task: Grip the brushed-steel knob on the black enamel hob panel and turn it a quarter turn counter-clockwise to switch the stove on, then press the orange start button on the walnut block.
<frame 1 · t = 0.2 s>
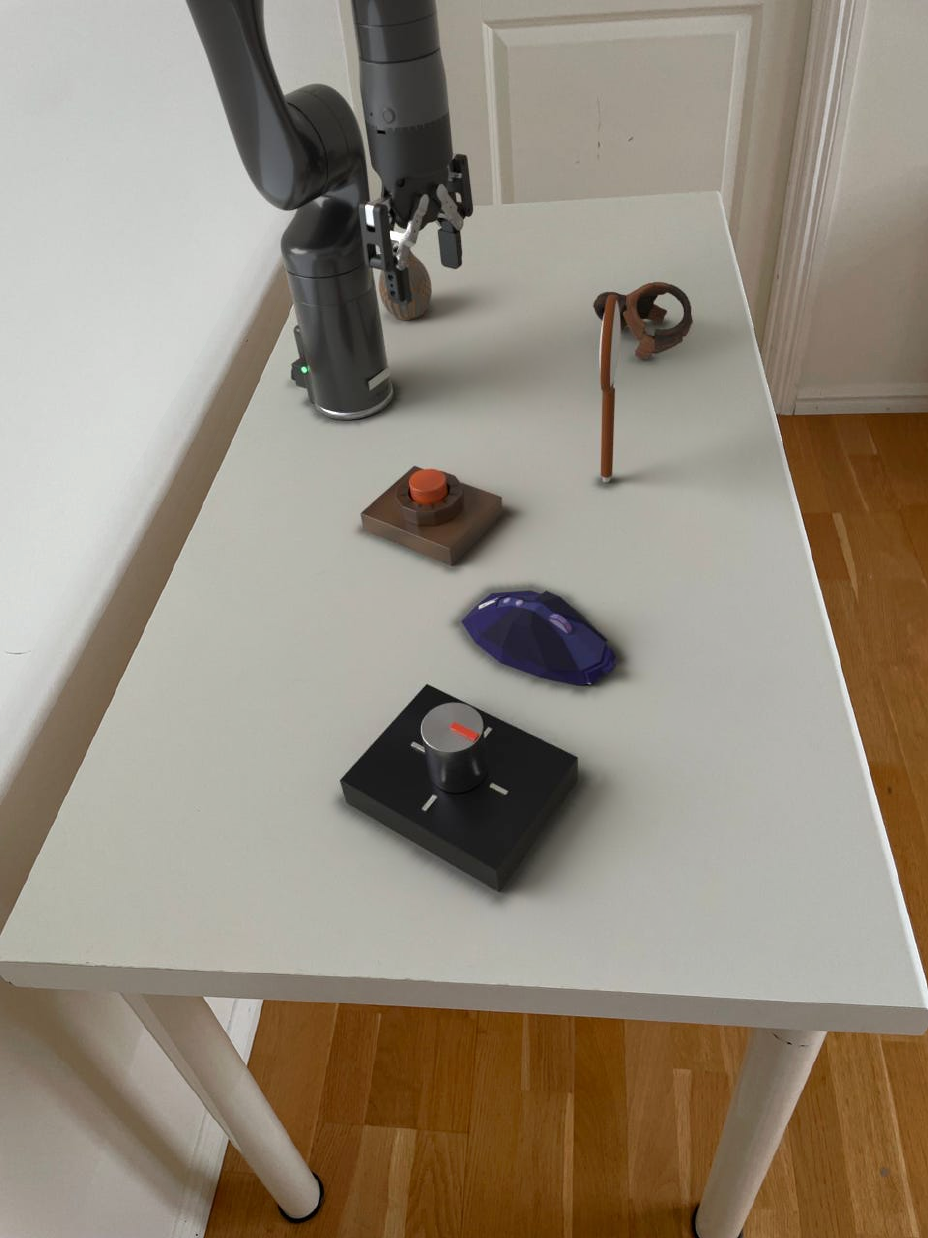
hand: (427, 284, 94), 17 cm above the table, tool pointing down, fingers open, 8 cm apart
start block: (433, 522, 95), on the table
hob panel: (461, 791, 72), on the table
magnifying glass: (606, 483, 97), on the table
vase: (408, 314, 126), on the table
brown ring sculpture: (641, 342, 116), on the table
hob knob: (455, 746, 68), point 6 cm above the table, hinge at 0.0°
start button: (428, 486, 92), point 4 cm above the table, slide at 0.1 cm
computer mouse: (544, 638, 82), on the table
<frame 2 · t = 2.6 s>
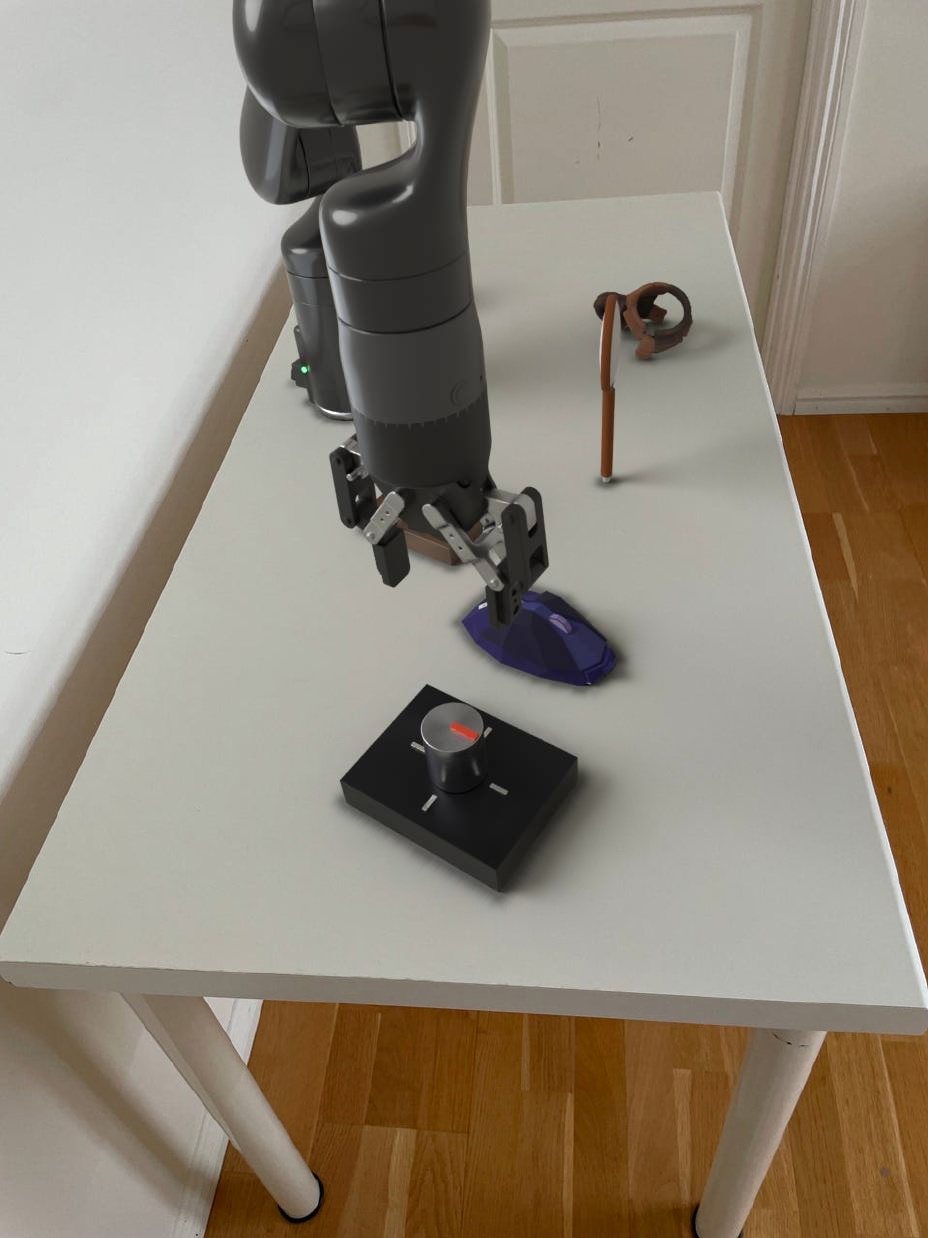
hand: (448, 599, 62), 17 cm above the table, tool pointing down, fingers open, 8 cm apart
nothing on the table moved.
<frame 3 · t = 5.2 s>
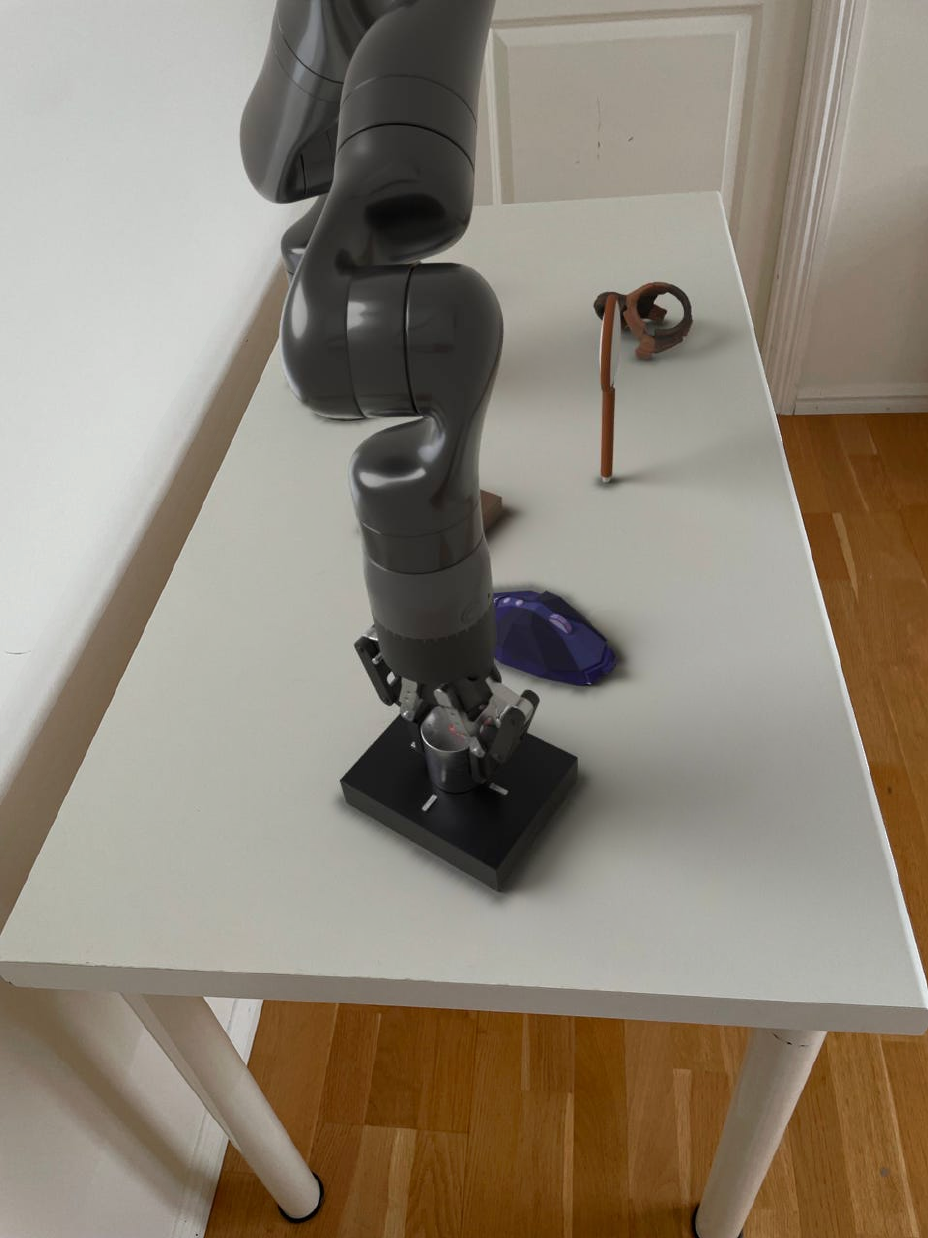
hand: (456, 758, 69), 4 cm above the table, tool pointing down, fingers closed on hob knob, 4 cm apart
hob knob: (455, 746, 68), point 6 cm above the table, hinge at 0.1°, touching gripper
everything else where it was.
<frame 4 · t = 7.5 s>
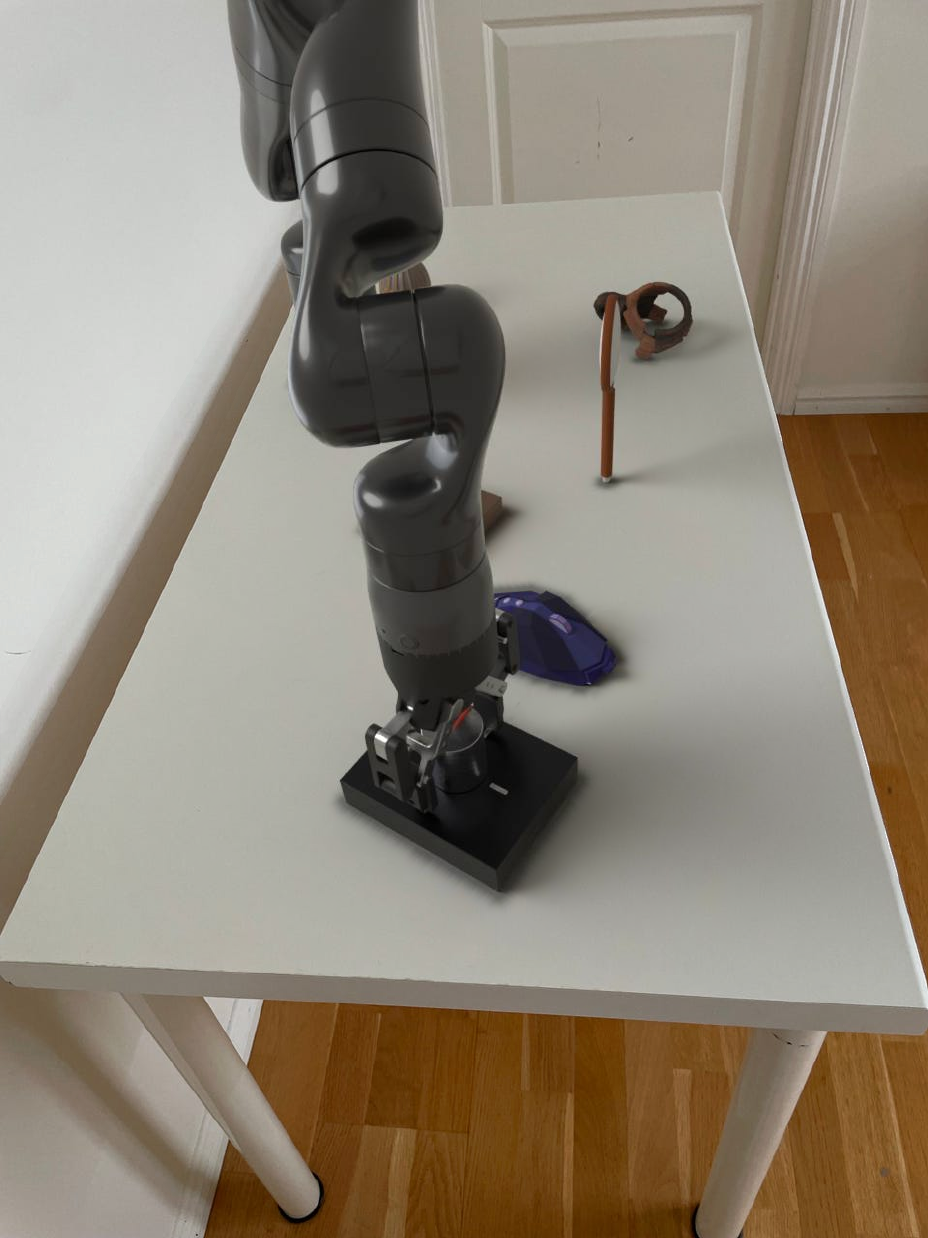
hand: (457, 763, 69), 4 cm above the table, tool pointing down, fingers open, 8 cm apart
hob knob: (455, 746, 68), point 6 cm above the table, hinge at 92.6°
everything else where it was.
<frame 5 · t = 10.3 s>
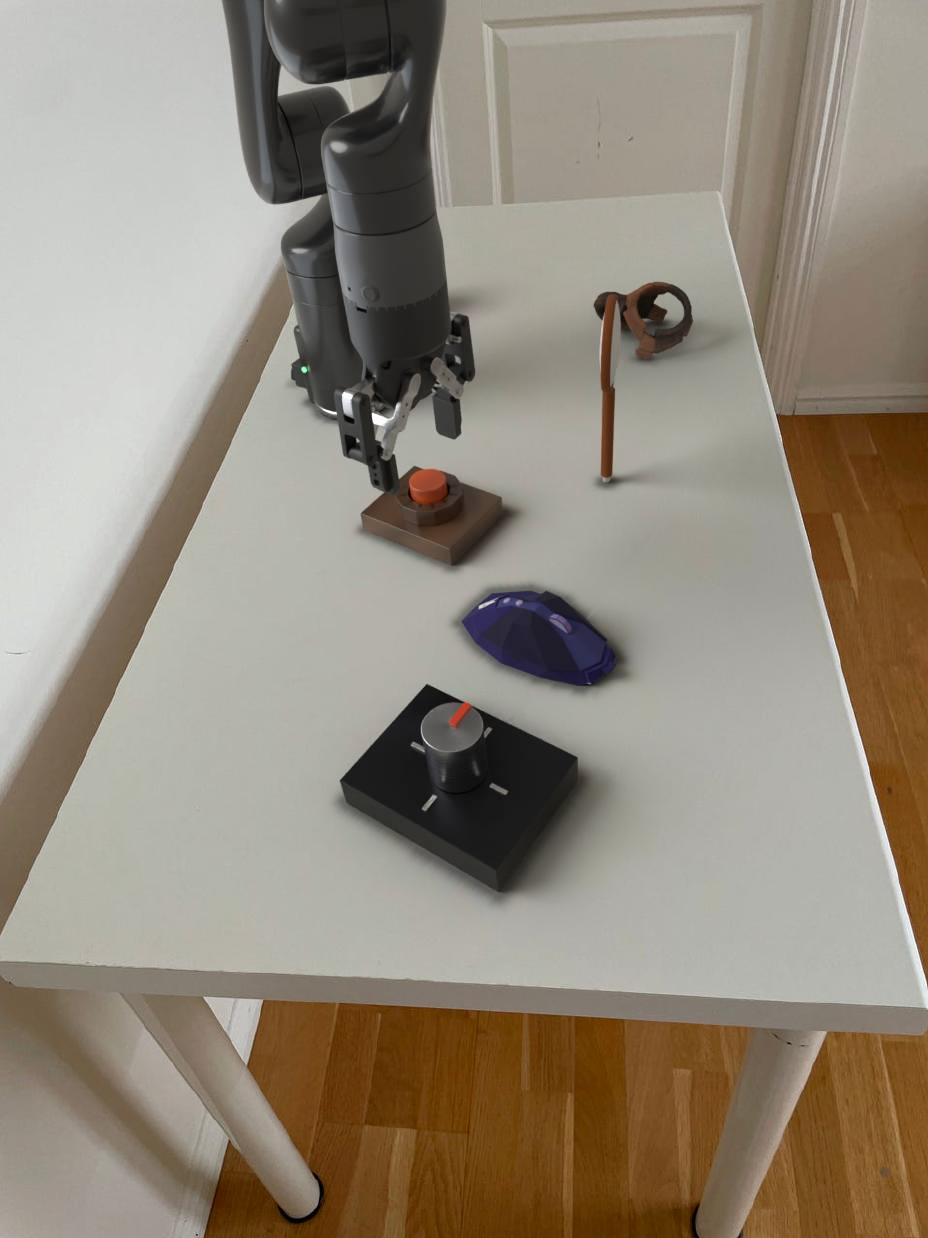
hand: (419, 461, 78), 14 cm above the table, tool pointing down, fingers open, 8 cm apart
nothing on the table moved.
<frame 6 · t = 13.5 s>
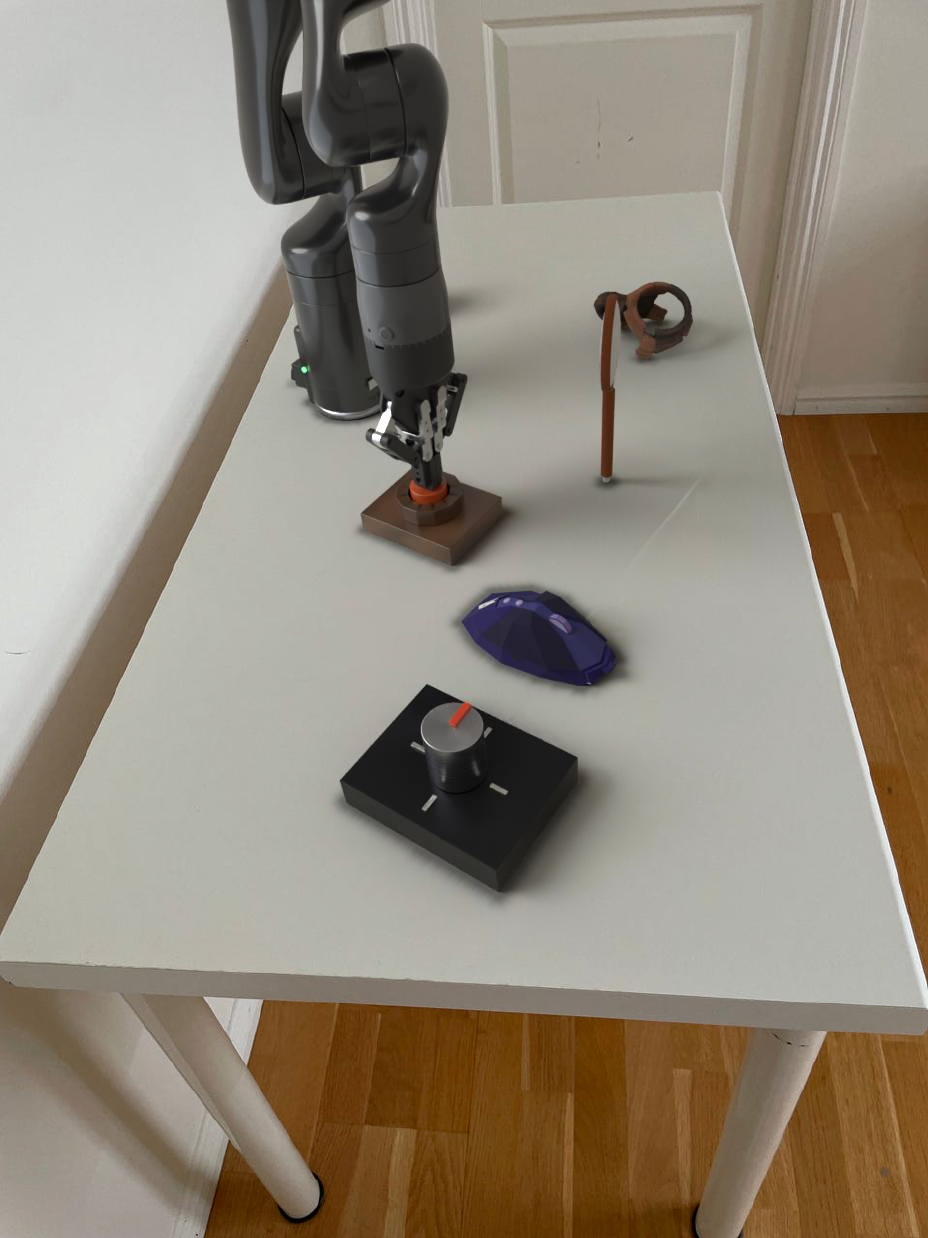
hand: (429, 484, 91), 5 cm above the table, tool pointing down, fingers closed
start button: (429, 491, 92), point 4 cm above the table, slide at -0.5 cm, touching gripper
everything else where it was.
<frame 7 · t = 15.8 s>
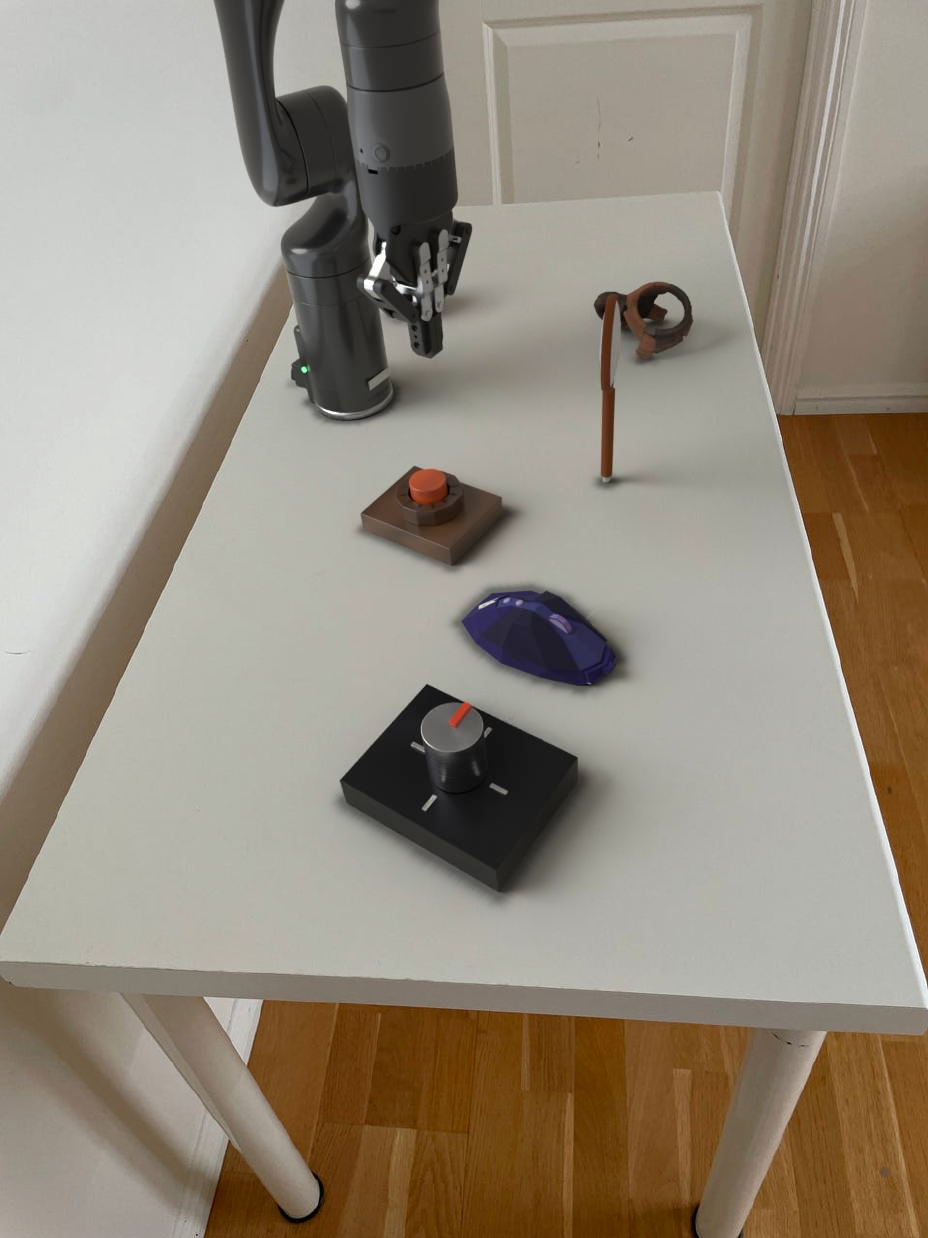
hand: (428, 352, 82), 18 cm above the table, tool pointing down, fingers closed
start button: (428, 486, 92), point 4 cm above the table, slide at 0.1 cm
everything else where it was.
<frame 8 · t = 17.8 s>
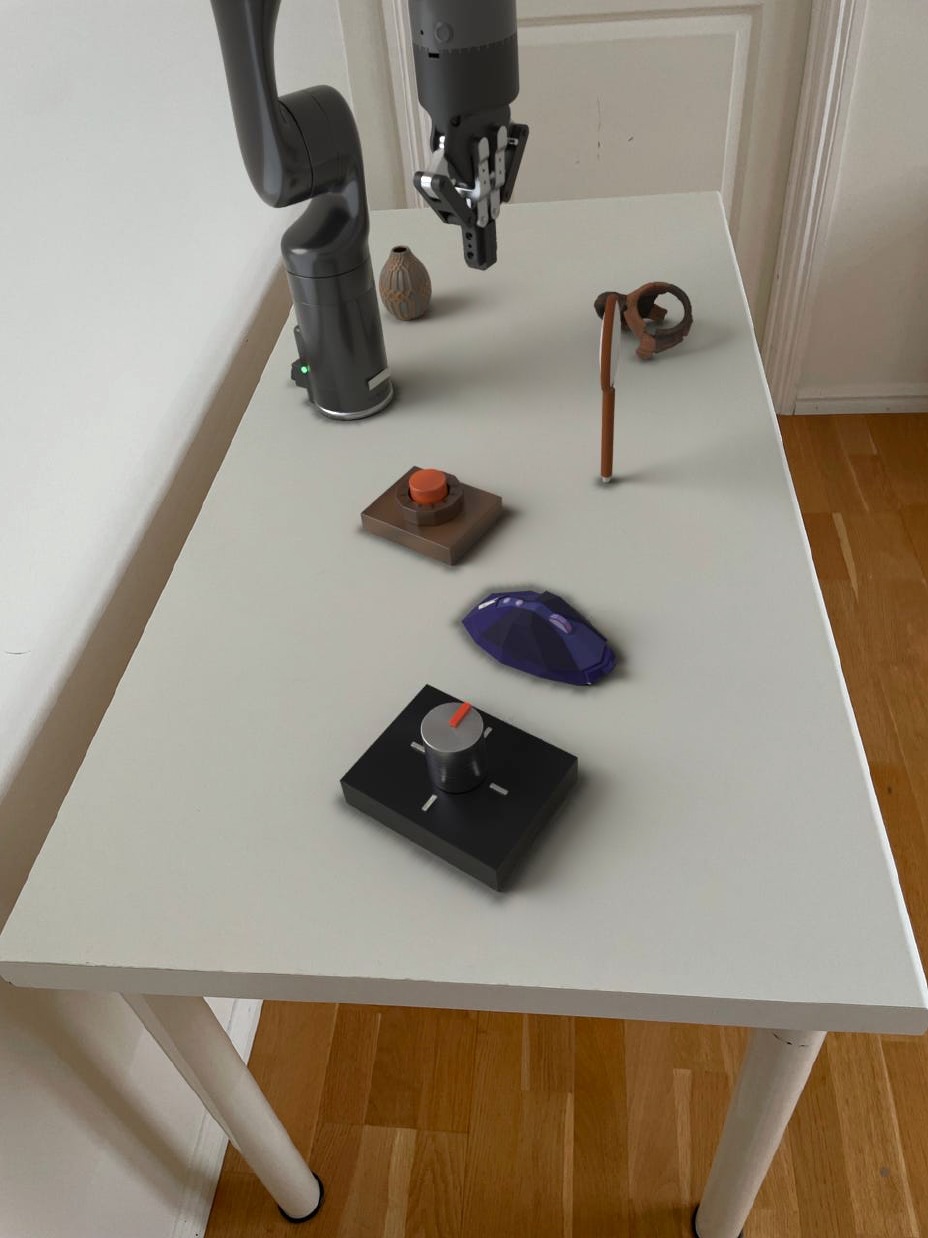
hand: (481, 265, 78), 25 cm above the table, tool pointing down, fingers closed
nothing on the table moved.
at the end: hob knob at +93° (first picture: +0°); start button pushed in 1.2 cm at the most during the clip, back to where it started at the end; start button slide at 0.1 cm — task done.
